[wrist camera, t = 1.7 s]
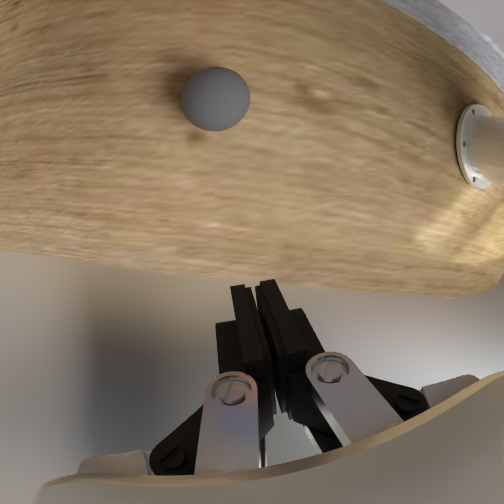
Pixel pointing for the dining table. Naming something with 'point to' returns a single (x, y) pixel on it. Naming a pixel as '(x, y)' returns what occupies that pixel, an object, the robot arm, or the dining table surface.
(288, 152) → the dining table surface
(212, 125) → the dark gray ball
